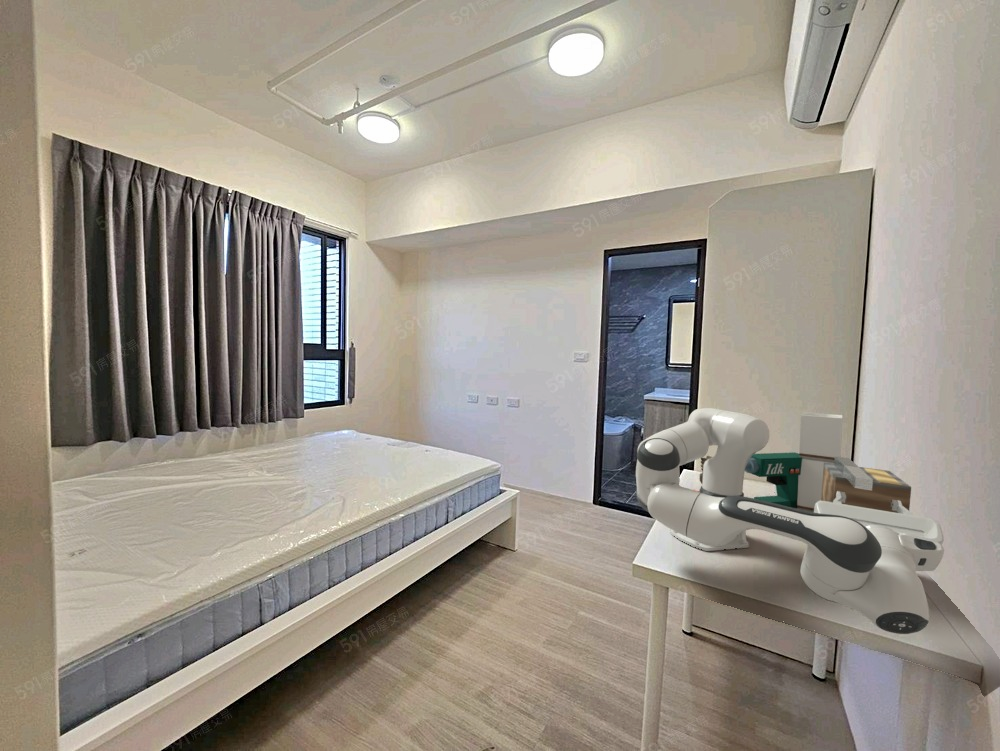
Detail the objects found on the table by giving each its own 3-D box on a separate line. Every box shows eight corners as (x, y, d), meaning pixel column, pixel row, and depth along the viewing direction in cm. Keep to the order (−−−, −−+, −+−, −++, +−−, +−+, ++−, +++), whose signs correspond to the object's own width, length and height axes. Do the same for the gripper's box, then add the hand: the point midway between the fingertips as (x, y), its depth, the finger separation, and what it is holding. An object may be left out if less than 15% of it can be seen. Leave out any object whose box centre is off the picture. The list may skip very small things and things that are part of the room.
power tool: (734, 516, 143) (738, 460, 141) (719, 508, 149) (723, 454, 148) (809, 511, 149) (813, 457, 148) (791, 503, 156) (795, 452, 155)
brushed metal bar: (872, 490, 93) (872, 479, 93) (854, 488, 95) (855, 477, 94) (847, 466, 113) (848, 458, 113) (834, 465, 114) (834, 456, 114)
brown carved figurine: (711, 490, 169) (713, 454, 168) (716, 495, 164) (718, 458, 163) (696, 489, 170) (698, 453, 169) (701, 493, 165) (703, 457, 164)
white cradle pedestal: (838, 510, 149) (842, 415, 148) (837, 518, 141) (842, 418, 140) (799, 503, 157) (803, 412, 155) (797, 510, 149) (800, 415, 147)
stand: (901, 593, 98) (911, 486, 96) (827, 576, 105) (835, 475, 103) (881, 564, 112) (889, 469, 110) (817, 550, 119) (823, 461, 117)
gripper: (814, 545, 89) (808, 498, 99) (945, 572, 79) (924, 516, 89) (819, 526, 86) (812, 479, 96) (956, 552, 76) (932, 496, 86)
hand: (866, 497), depth 93 cm, fingers open, 8 cm apart
